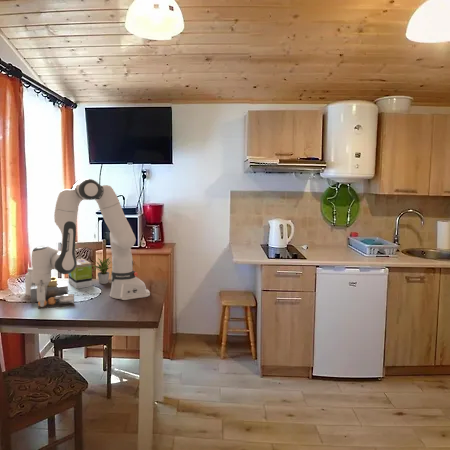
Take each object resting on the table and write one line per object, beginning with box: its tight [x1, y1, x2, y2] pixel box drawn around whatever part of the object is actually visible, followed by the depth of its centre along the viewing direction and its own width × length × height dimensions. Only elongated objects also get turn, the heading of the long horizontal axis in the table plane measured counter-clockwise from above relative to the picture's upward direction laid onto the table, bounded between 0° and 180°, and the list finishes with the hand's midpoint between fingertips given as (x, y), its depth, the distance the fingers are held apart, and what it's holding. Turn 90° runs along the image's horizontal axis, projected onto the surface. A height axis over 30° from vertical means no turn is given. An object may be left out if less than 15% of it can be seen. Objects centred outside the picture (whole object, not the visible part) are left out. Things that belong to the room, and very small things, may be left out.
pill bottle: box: [24, 267, 33, 297], centre depth 225 cm, size 8×8×15 cm
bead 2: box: [47, 297, 57, 305], centre depth 208 cm, size 4×4×4 cm
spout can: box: [55, 293, 75, 305], centre depth 209 cm, size 9×5×5 cm, turn 111°
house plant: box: [89, 257, 112, 285], centre depth 252 cm, size 14×14×16 cm
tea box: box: [67, 258, 93, 290], centre depth 246 cm, size 15×10×15 cm, turn 39°
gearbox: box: [30, 276, 69, 304], centre depth 218 cm, size 18×12×11 cm, turn 111°
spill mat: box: [37, 301, 75, 310], centre depth 208 cm, size 17×9×1 cm, turn 111°
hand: (42, 304), depth 204 cm, fingers closed on bead 1, 4 cm apart
